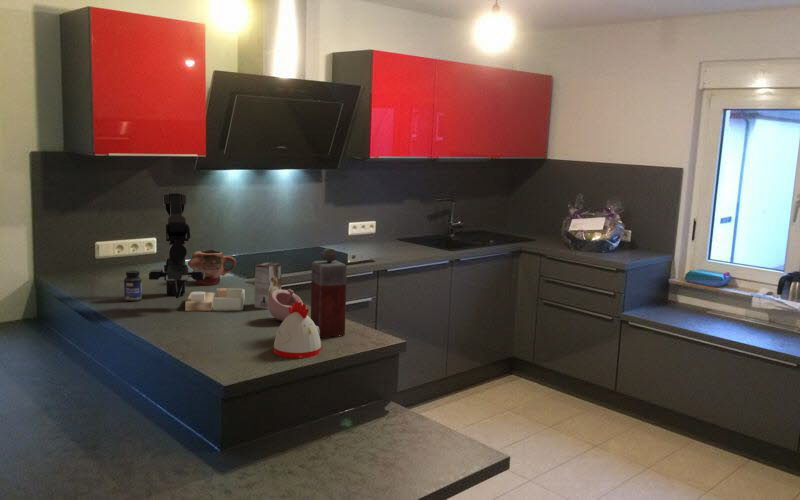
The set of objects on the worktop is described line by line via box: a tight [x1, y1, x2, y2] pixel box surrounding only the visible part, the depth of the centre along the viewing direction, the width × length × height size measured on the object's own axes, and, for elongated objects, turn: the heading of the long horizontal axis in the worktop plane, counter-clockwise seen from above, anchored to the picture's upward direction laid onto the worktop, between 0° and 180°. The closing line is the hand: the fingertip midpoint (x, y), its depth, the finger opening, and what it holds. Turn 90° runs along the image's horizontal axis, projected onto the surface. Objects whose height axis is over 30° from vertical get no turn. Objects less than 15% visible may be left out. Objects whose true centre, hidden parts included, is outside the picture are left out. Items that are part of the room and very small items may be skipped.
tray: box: [212, 288, 246, 312], centre depth 255 cm, size 10×17×4 cm, turn 10°
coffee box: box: [254, 261, 282, 310], centre depth 255 cm, size 9×6×16 cm
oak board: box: [184, 291, 216, 312], centre depth 253 cm, size 9×17×3 cm, turn 11°
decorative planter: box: [187, 249, 237, 286], centre depth 292 cm, size 20×12×14 cm, turn 105°
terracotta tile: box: [218, 287, 227, 298], centre depth 258 cm, size 4×4×2 cm
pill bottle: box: [123, 270, 142, 302], centre depth 256 cm, size 6×6×11 cm
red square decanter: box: [310, 247, 348, 338], centre depth 221 cm, size 9×11×28 cm
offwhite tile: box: [191, 291, 206, 301], centre depth 248 cm, size 4×4×2 cm
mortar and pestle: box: [267, 288, 304, 322], centre depth 235 cm, size 12×12×11 cm
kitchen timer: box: [273, 301, 322, 359], centre depth 200 cm, size 14×14×15 cm
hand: (177, 298), depth 247 cm, fingers closed
